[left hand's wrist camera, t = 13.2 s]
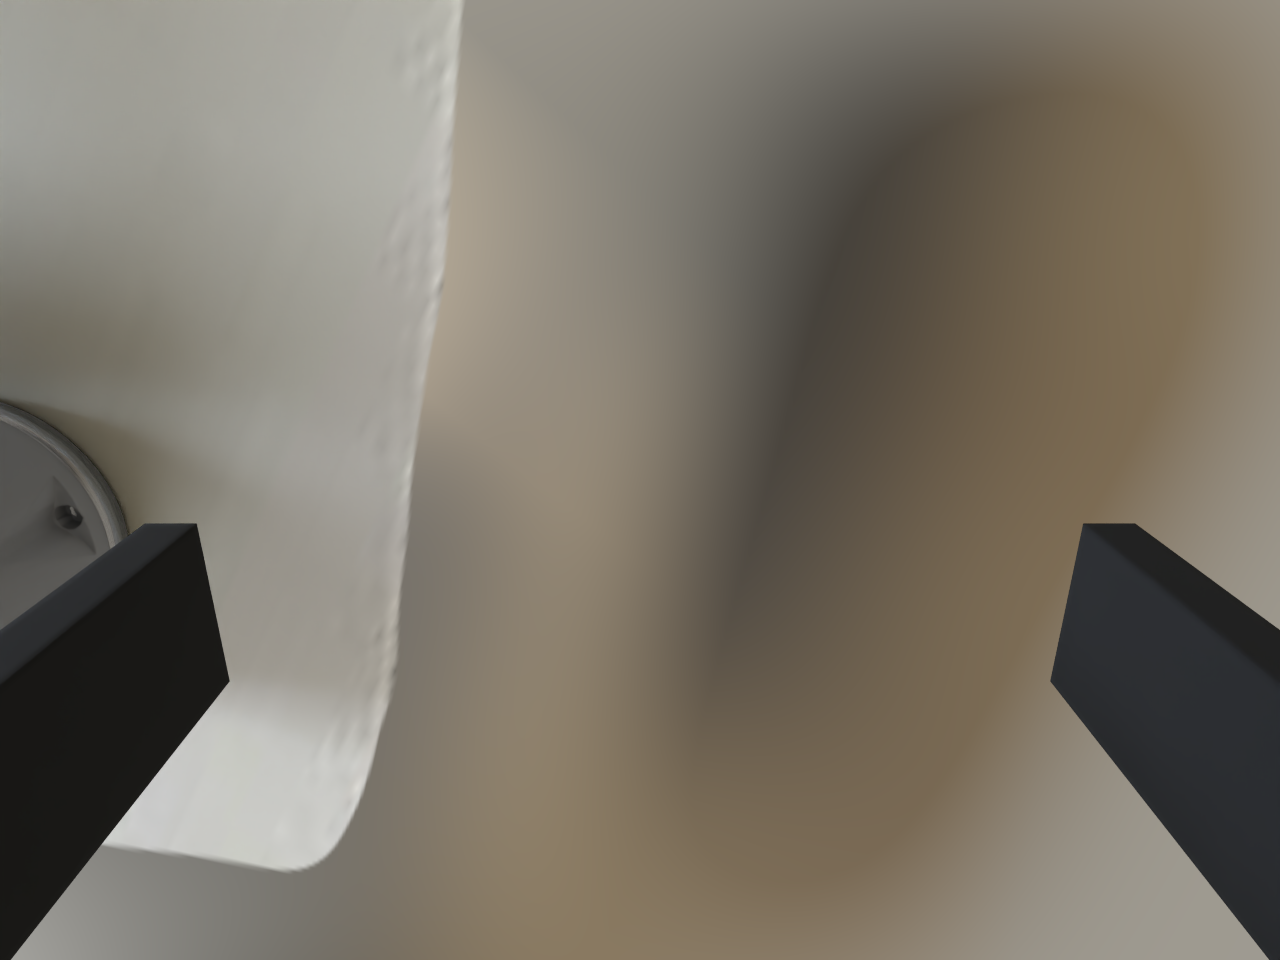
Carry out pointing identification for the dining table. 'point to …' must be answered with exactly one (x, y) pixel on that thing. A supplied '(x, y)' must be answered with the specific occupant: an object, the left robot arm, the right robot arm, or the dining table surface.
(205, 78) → the dining table surface
